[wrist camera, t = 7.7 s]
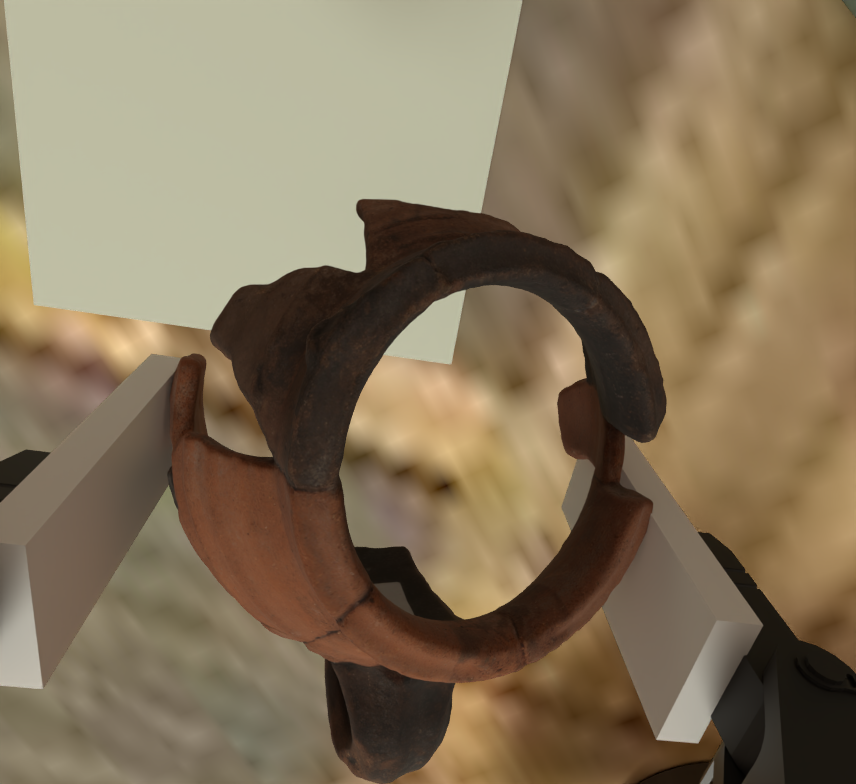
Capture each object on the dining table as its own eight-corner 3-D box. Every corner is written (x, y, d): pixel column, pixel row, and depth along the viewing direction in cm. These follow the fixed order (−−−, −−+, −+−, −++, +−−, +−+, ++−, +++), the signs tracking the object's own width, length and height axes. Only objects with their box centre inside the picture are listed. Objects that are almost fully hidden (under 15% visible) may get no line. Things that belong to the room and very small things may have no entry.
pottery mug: (125, 229, 14) (157, 152, 6) (476, 231, 18) (727, 186, 11) (185, 704, 16) (260, 1044, 9) (487, 602, 20) (702, 770, 13)
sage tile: (539, -116, 24) (547, -130, 22) (449, 354, 32) (451, 364, 30) (5, -239, 22) (-22, -263, 20) (50, 296, 30) (34, 304, 28)
